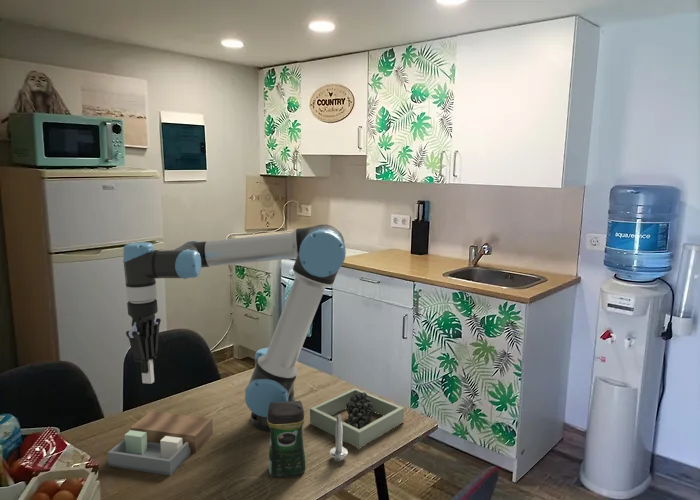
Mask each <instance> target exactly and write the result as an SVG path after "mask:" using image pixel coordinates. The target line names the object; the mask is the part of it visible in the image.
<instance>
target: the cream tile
mask: <svg viewBox="0 0 700 500" xmlns="http://www.w3.org/2000/svg"><path fill="white" fill-rule="evenodd" d="M160 445H161V458H166V459H170V458H171V457H172V456H173V455H174V454H175V453H176V452H177V451H178V450H179V449H180V448H181V447H182V445H183V442H182V438H178V437H171V436H165V437H164V438H163V439H161V440H160Z"/></svg>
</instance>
